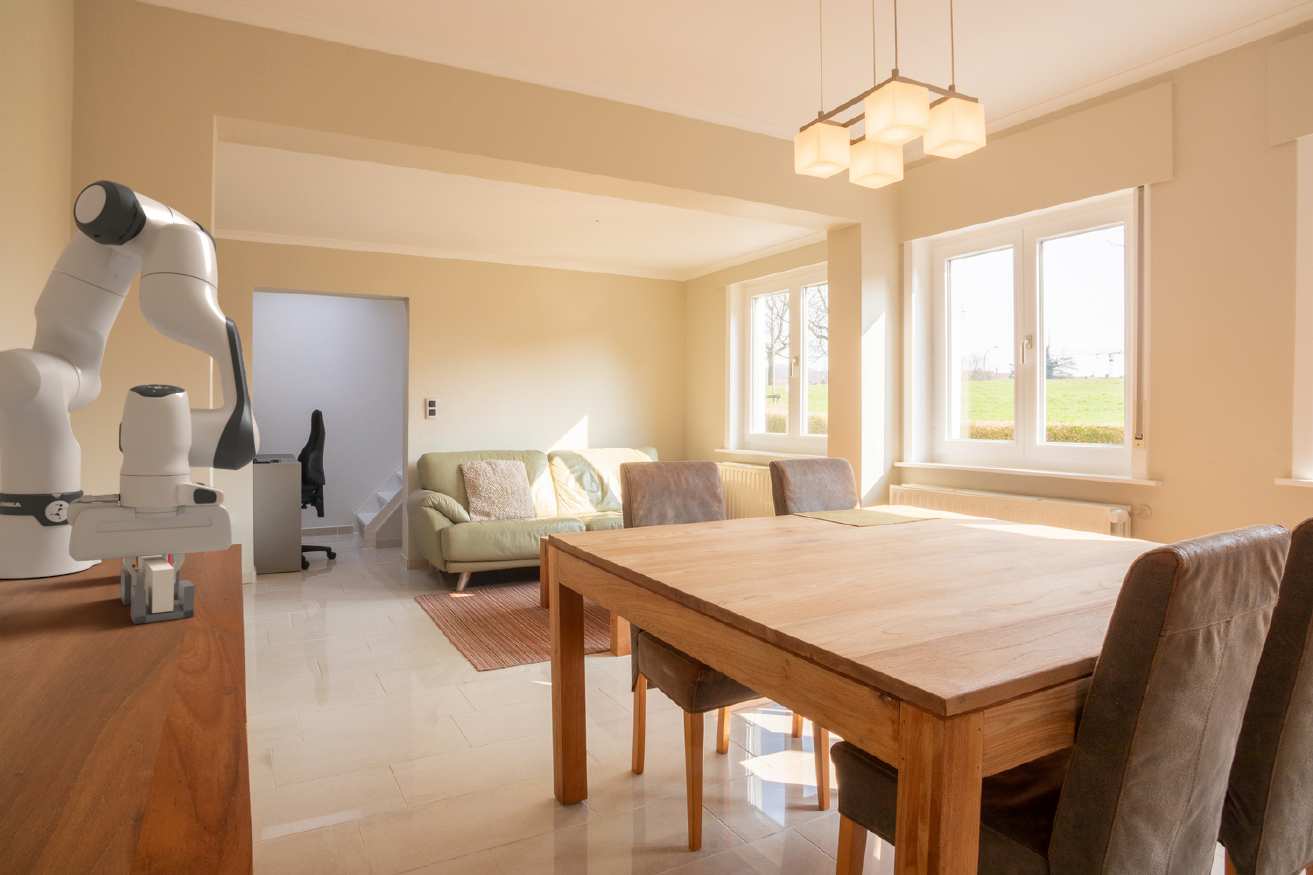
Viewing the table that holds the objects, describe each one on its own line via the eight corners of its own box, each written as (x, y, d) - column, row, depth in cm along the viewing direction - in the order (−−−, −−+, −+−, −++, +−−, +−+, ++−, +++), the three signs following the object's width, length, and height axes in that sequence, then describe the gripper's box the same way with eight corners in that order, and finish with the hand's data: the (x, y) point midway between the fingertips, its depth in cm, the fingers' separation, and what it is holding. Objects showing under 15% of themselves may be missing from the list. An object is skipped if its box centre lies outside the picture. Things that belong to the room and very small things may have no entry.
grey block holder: (193, 616, 107) (194, 585, 107) (134, 624, 102) (135, 591, 102) (173, 591, 120) (173, 564, 120) (120, 597, 116) (120, 569, 115)
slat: (173, 610, 105) (174, 568, 105) (152, 613, 104) (153, 570, 103) (156, 588, 117) (157, 550, 117) (137, 590, 116) (138, 552, 115)
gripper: (68, 498, 102) (66, 597, 102) (236, 492, 115) (234, 580, 115) (65, 493, 106) (64, 588, 107) (227, 488, 120) (225, 573, 120)
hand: (153, 584), depth 111 cm, fingers closed on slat, 2 cm apart
